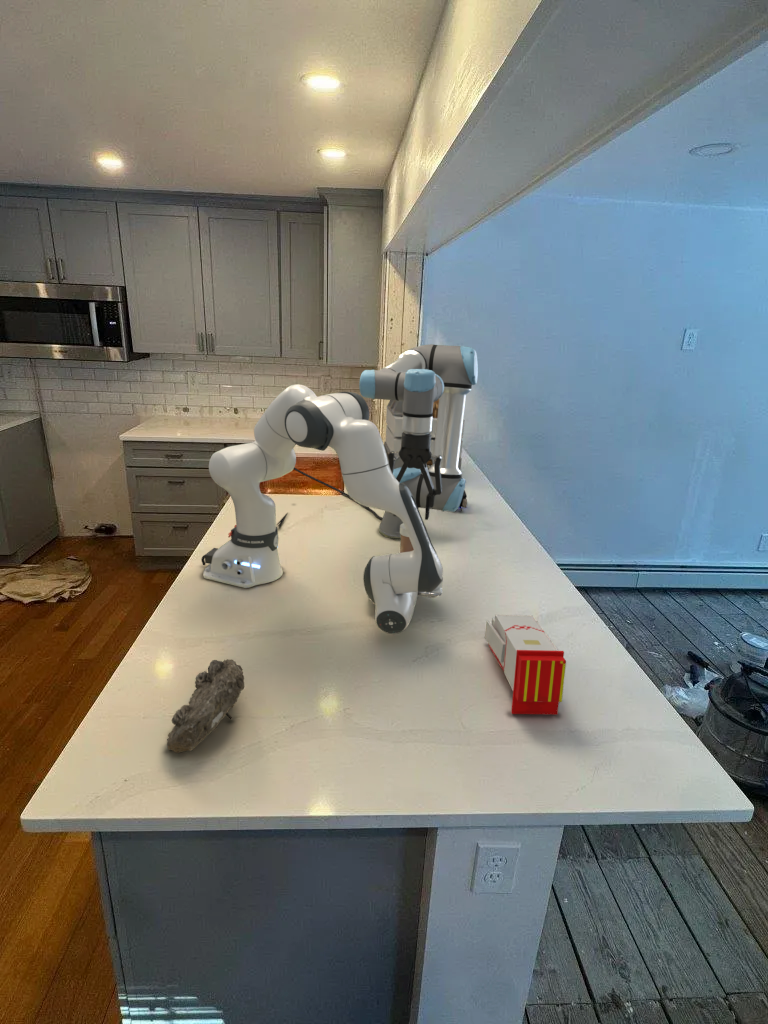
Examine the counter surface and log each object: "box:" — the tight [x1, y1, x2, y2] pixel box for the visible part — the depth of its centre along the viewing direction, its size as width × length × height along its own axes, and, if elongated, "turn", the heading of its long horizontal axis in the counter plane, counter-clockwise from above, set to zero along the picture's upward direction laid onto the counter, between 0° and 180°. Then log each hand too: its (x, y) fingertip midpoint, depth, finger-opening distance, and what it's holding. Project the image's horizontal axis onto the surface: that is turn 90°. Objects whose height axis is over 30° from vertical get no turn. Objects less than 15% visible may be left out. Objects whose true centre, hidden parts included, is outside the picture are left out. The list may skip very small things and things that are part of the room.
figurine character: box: [457, 489, 468, 512], centre depth 228 cm, size 7×8×15 cm
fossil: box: [166, 658, 245, 754], centre depth 106 cm, size 22×10×15 cm
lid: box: [400, 523, 409, 537], centre depth 153 cm, size 6×6×2 cm
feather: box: [276, 513, 288, 529], centre depth 211 cm, size 2×28×2 cm
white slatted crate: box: [383, 399, 465, 472], centre depth 268 cm, size 34×33×41 cm
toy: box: [484, 614, 567, 716], centre depth 124 cm, size 12×13×30 cm
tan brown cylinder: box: [399, 535, 414, 553], centre depth 156 cm, size 5×5×19 cm
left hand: (408, 568), depth 158 cm, fingers open, 7 cm apart
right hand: (411, 516), depth 152 cm, fingers open, 8 cm apart
